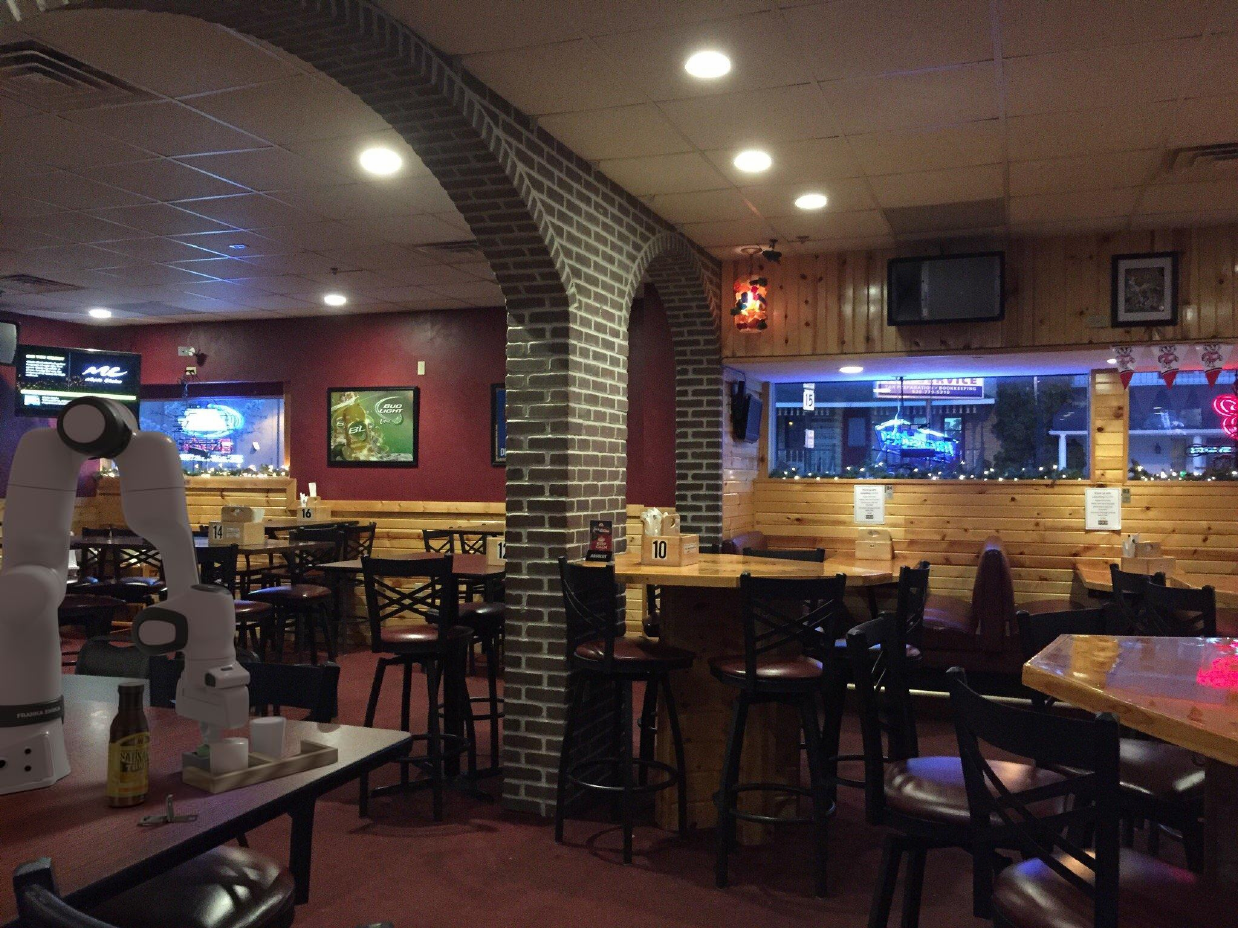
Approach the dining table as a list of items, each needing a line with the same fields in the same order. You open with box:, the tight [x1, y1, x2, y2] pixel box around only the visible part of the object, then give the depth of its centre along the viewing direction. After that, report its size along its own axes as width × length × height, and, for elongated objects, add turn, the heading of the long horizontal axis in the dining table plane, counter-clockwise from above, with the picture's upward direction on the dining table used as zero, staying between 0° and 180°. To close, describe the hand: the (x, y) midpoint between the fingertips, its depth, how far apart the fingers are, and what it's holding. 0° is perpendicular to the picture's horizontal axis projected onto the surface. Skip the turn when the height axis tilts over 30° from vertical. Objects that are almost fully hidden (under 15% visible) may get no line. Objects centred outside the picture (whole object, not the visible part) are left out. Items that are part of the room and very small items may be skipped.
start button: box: [196, 743, 210, 757], centre depth 187 cm, size 4×4×3 cm
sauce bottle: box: [106, 681, 151, 808], centre depth 168 cm, size 7×6×20 cm
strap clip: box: [138, 794, 200, 826], centre depth 159 cm, size 8×3×4 cm, turn 105°
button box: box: [181, 749, 210, 773], centre depth 187 cm, size 7×7×3 cm
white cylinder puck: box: [210, 736, 249, 776], centre depth 179 cm, size 6×6×7 cm
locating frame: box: [182, 738, 339, 795], centre depth 185 cm, size 25×11×2 cm, turn 141°
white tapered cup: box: [249, 715, 287, 758], centre depth 196 cm, size 7×7×7 cm
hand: (210, 745), depth 187 cm, fingers closed, pressing on start button
